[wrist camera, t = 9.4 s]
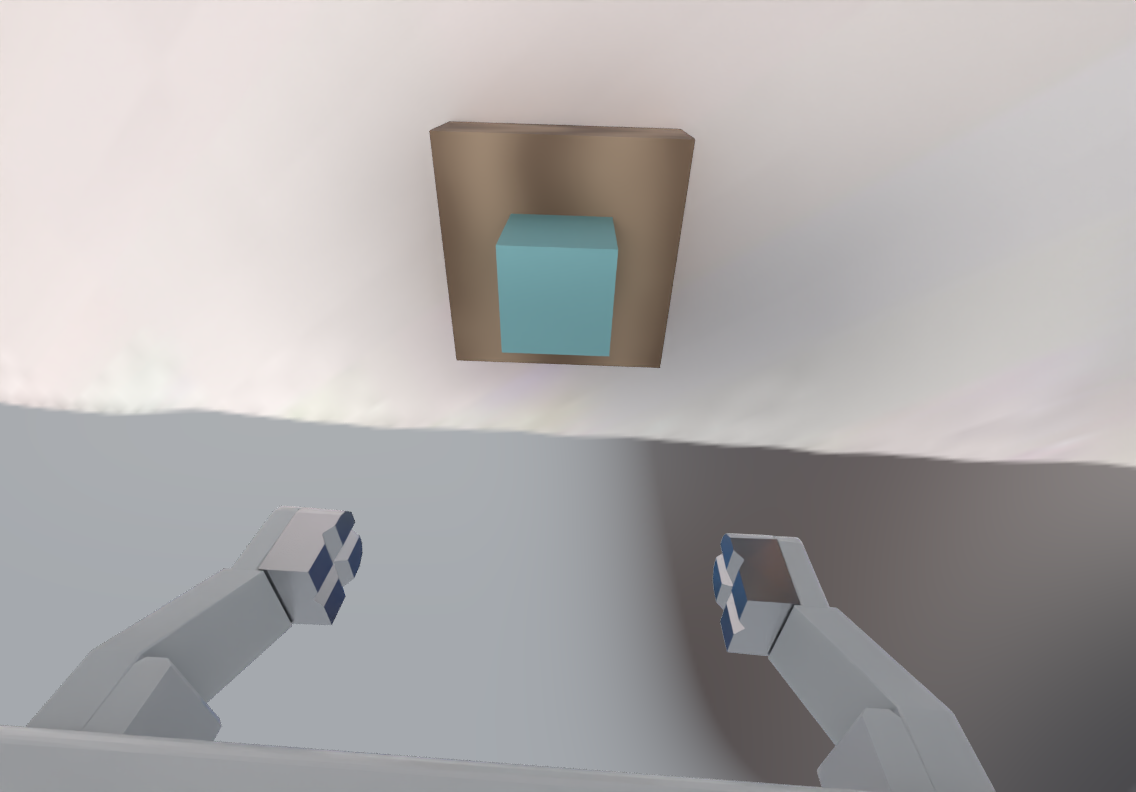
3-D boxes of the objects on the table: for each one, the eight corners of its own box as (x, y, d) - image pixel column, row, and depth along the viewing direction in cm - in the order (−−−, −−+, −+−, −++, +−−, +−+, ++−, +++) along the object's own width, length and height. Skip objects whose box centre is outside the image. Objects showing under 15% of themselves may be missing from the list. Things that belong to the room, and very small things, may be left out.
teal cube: (612, 217, 24) (618, 249, 20) (605, 310, 27) (609, 356, 23) (510, 213, 24) (495, 245, 20) (514, 307, 27) (501, 352, 23)
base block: (680, 129, 25) (695, 139, 22) (652, 336, 32) (659, 367, 29) (449, 121, 25) (429, 130, 22) (469, 329, 32) (456, 360, 29)
